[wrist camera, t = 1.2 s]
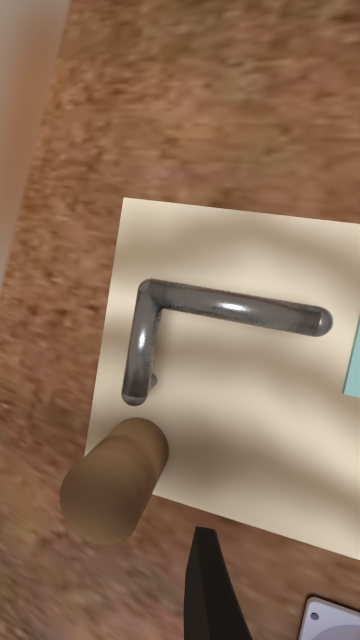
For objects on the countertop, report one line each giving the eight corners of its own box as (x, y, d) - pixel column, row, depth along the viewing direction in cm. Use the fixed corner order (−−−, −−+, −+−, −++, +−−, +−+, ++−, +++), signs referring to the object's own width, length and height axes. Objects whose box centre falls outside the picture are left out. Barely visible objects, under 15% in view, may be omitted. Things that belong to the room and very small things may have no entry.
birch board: (478, 585, 18) (491, 602, 17) (88, 464, 23) (82, 471, 22) (572, 253, 16) (593, 250, 15) (129, 202, 21) (123, 197, 20)
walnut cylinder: (163, 486, 21) (131, 557, 15) (105, 468, 22) (54, 529, 16) (173, 426, 20) (146, 475, 15) (114, 410, 21) (65, 451, 15)
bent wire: (295, 427, 19) (307, 457, 15) (137, 388, 21) (114, 406, 17) (320, 308, 18) (340, 309, 14) (155, 280, 20) (135, 275, 16)
